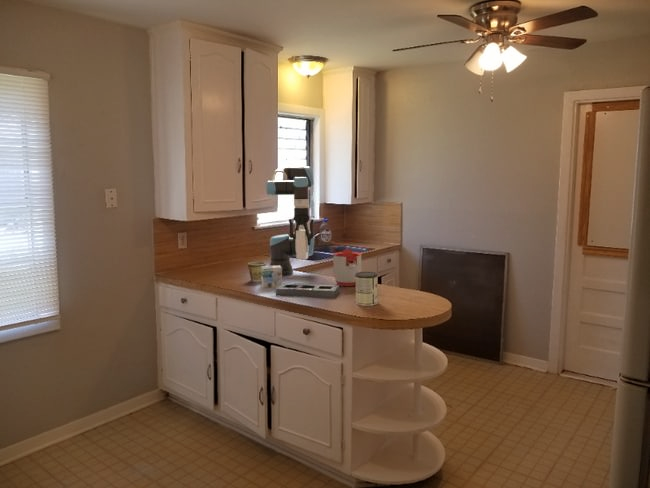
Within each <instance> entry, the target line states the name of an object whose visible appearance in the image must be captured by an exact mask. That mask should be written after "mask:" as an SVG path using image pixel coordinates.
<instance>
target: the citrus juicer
mask: <svg viewBox="0 0 650 488" xmlns="http://www.w3.org/2000/svg"><path fill="white" fill-rule="evenodd" d="M332 258H333V275H334V279H335V283H336V285H340V287H343V286H345V287H353V286H355V287H356V276H355V274H356V273H358V272H362V252H358V251H351V250H350V249H349V248H345V249H344V250H343V251H338V252H334V253H333V254H332Z"/></svg>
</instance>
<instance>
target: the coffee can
mask: <svg viewBox="0 0 650 488" xmlns="http://www.w3.org/2000/svg"><path fill="white" fill-rule="evenodd" d="M378 275H379V274H378V273H377V272H374V271H361V272H358V273H356V274H355V276H356V286H355V304H356V305H357V306H363V307H364V306H365V307H368V306H369V307H370V306H371V307H373V306H376V305H377V304H378Z"/></svg>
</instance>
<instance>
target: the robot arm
mask: <svg viewBox="0 0 650 488" xmlns="http://www.w3.org/2000/svg"><path fill="white" fill-rule="evenodd" d="M313 175H314V174H313V170H312V167H311V166H308V165H286V166H281V167H279V168H277V169H275V170H274V171H273V172H272V173H271V176H270V180H268V181H266V185H265V186H266V189H265V190H266V194H267V195H268V196H281V195H282V196H284V195H285V196H286V195H287V196H289V195H290V196H292V195H293V206H294V209H293V210H294V211H293V212H294V213H293V215H294V216H293V218H289V219H288V223H289V234H288V233H285V234H277V235H274V236H271V238H270V239H269V250H270V251H269V253H270V255H269V257H270V258H269V259H270V260H269V265H268V266H276V265H280V266H281V267H282V277H283V276H284V277H285V276H290V275H293V274H294V268H293V265H292V263H291V257H296V230H305V231H306V236H307V239H306V252H308V257H310V256H312V255H313V254H314V249H315V248H314V246H315V239H316V238H315V228H314V226H315V225H314V223H315V221H316V220H315V218H311V217H310V190H311V189H312V187H313V186H314V177H313ZM294 224H295V225H294Z"/></svg>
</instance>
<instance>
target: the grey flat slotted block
mask: <svg viewBox="0 0 650 488" xmlns="http://www.w3.org/2000/svg"><path fill="white" fill-rule="evenodd" d="M340 292H341V286H340V285H337V284H317V283H315V284H314V283H313V284H312V283H310V284H309V283H290V282H289V283H286V282H282V285H280V286H279V287H275V296H277V297H279V296H280V297H281V296H282V297H302V298H305V297H307V298H328V299H335V298H336V297H337V296H338V295H339V294H340Z"/></svg>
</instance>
